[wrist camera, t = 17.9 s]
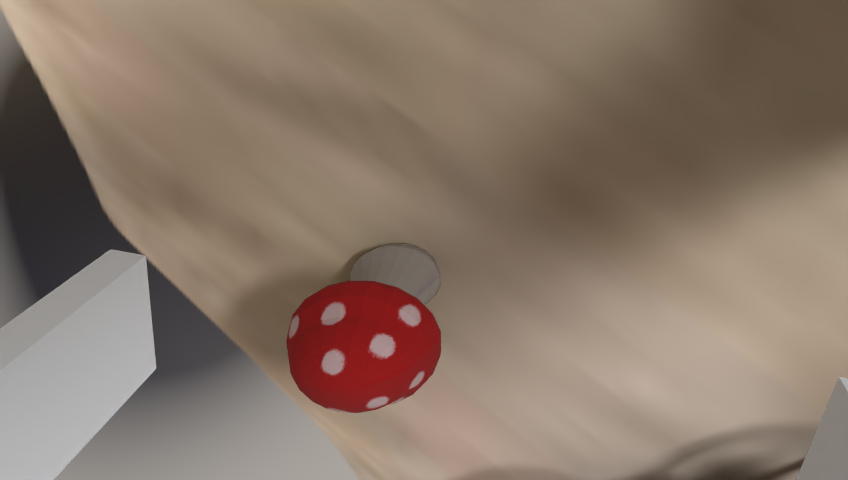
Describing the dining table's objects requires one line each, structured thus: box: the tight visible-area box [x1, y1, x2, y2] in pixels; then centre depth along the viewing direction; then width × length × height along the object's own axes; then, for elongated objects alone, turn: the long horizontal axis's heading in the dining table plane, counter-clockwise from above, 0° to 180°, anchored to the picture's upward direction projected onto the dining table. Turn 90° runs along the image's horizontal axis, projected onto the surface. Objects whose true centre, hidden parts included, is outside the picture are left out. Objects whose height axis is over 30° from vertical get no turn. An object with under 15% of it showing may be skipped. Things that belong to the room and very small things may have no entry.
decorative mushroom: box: [287, 243, 441, 413], centre depth 46 cm, size 10×9×15 cm
